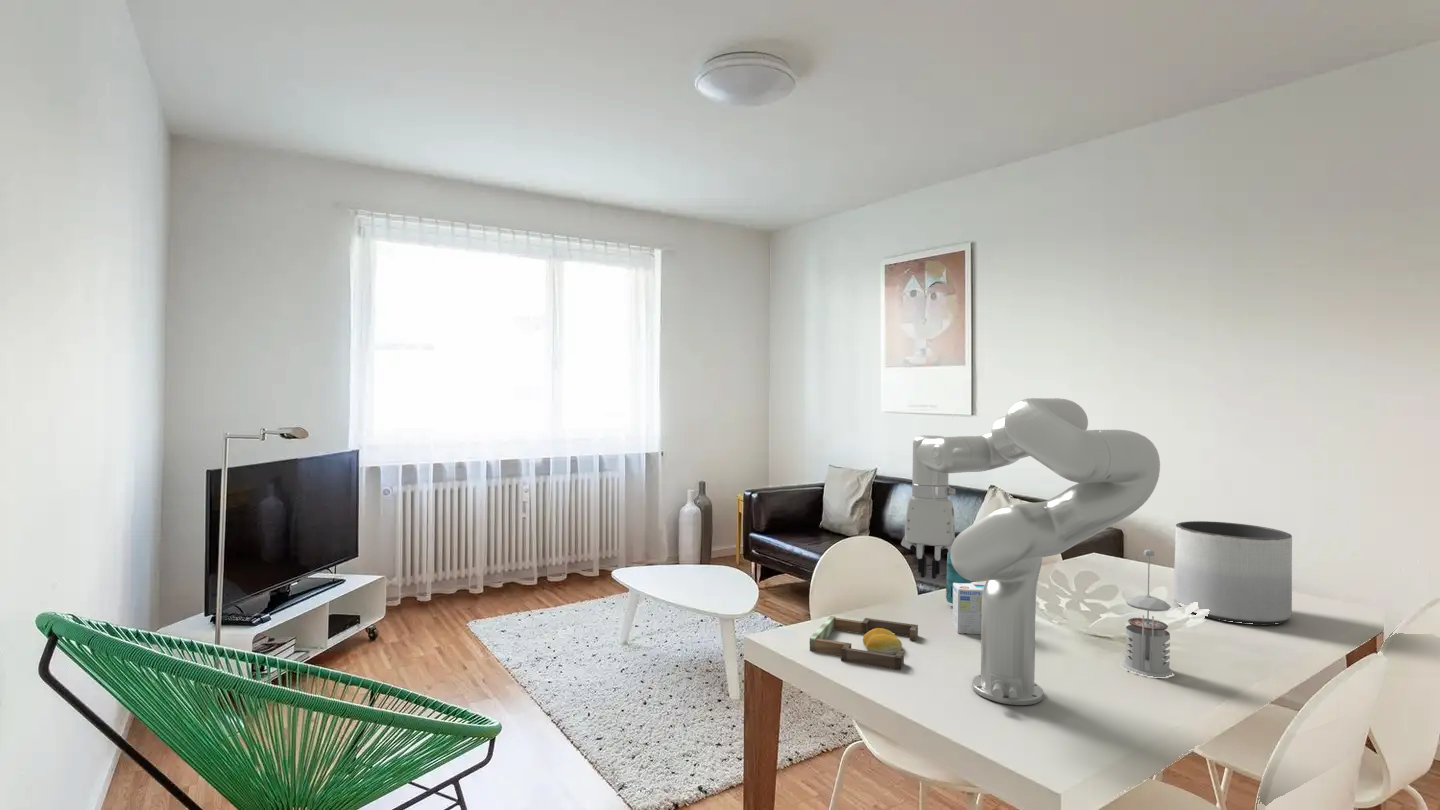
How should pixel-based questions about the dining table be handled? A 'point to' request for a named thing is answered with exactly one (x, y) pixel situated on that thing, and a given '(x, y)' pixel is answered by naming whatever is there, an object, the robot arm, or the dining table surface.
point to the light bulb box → (967, 607)
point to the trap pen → (864, 626)
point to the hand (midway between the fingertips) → (928, 576)
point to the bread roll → (882, 641)
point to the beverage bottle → (952, 577)
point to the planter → (1234, 571)
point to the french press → (1147, 637)
